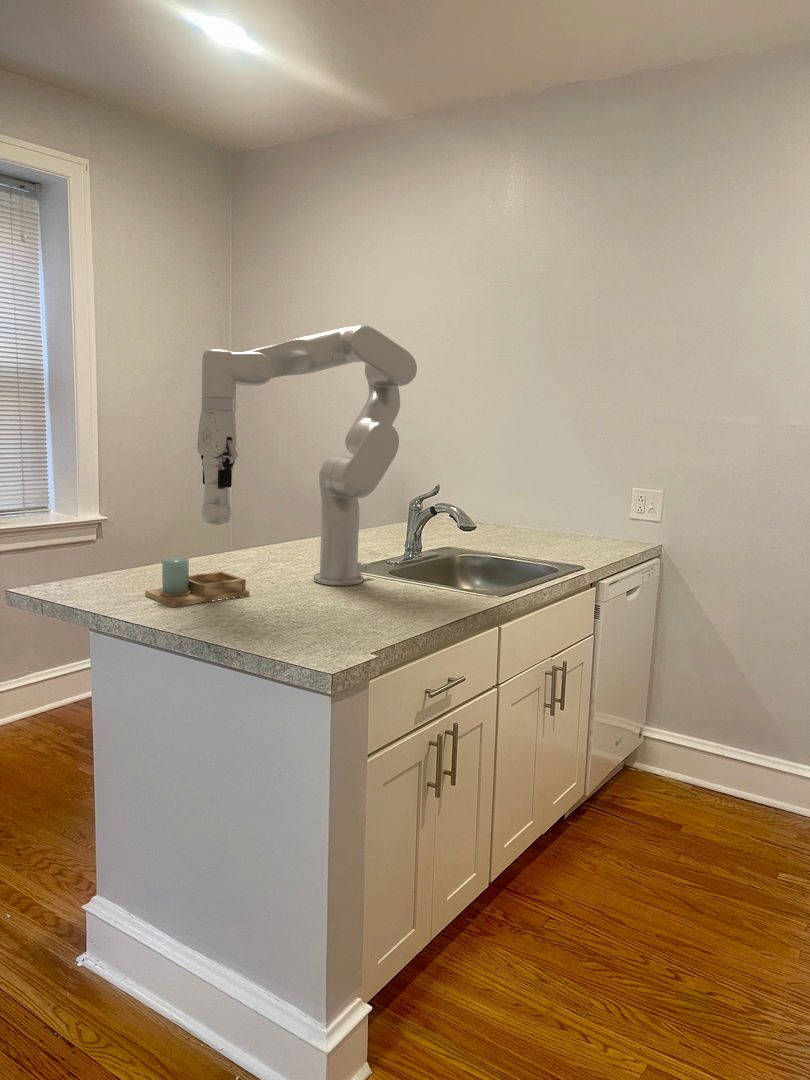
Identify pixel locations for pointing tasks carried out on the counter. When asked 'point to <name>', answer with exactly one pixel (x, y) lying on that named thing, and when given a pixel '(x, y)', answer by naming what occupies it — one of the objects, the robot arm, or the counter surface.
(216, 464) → the plastic bottle
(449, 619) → the counter surface
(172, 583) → the sage pillar candle
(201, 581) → the oak caddy
